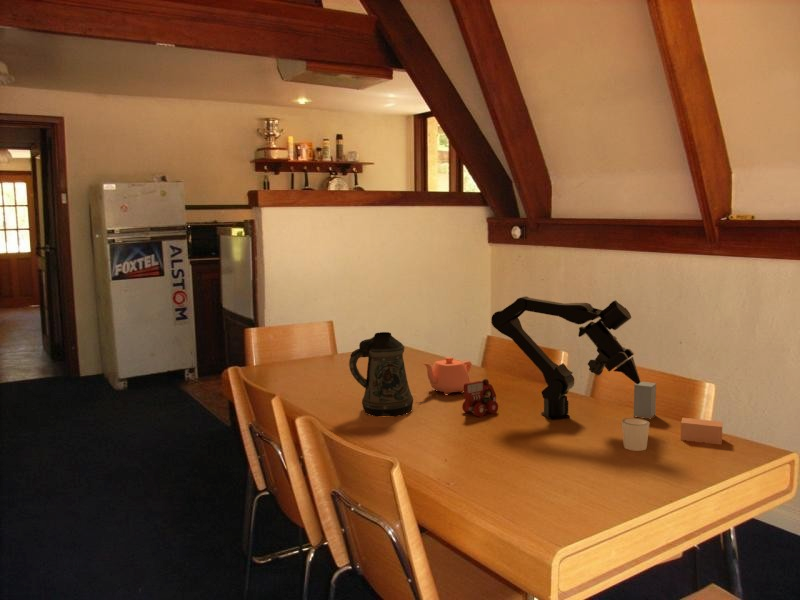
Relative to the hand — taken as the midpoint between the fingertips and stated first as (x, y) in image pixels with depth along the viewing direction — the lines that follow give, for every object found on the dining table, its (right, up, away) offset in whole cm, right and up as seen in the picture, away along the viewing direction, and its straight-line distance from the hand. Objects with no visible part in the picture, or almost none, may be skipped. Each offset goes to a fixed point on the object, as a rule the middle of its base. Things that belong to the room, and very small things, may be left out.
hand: (639, 383), depth 193 cm
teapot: (-51, -9, +47) cm, 70 cm away
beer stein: (-73, -12, +24) cm, 78 cm away
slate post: (+6, -12, +13) cm, 18 cm away
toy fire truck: (-43, -12, +20) cm, 49 cm away
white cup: (-6, -15, -14) cm, 22 cm away
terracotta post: (+9, -12, -7) cm, 16 cm away
